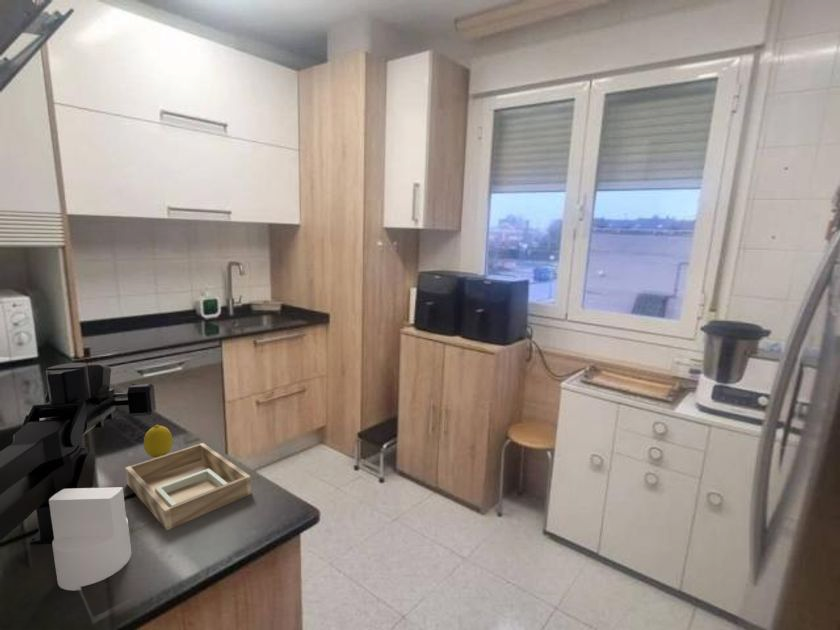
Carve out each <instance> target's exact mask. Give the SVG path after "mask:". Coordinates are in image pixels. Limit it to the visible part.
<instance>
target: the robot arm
mask: <svg viewBox="0 0 840 630" xmlns="http://www.w3.org/2000/svg"><path fill="white" fill-rule="evenodd" d="M111 373H112V368H111V367H110V366H108V365H102V364H88V363H86V362H69V363H61V364H55V365H53V366H50V367H47V368H46V370H45V374H46V375H45V376H46V382H47V389H48V391H47V392H46V393H45V395H44V398H43V400H44V404H34V405H32V407H31V409H30V411H29V413H28V414H26V415H25V417H24V421H23V422H22V423H23V424H22V426H21V428H20V429H18V430H17V431H16V432H15V433H14V434H13V436H12V442H11V444H10V445H8V446H6V447H5V448H3V449H2V450H0V542H1V541H3V540H4V539H5V538H6V537H7V536H8V535H9V534H11V533H12V532H13V531H14V530H15V529H16V528H17V527H18V526H19V525H21V524H22V523H23V522H24V521H26V519H27V518H29V517H30V516H31V515H32V514H33V513H34V512H35V513H36V520H37V521H36V522H37V525H38V531H37V532H36V533H35V534H34V535H33V536H32V537H31V538H30V539H29V540H28V541H29V544H30V545H32V544H41V543H42V544H43V543H49V542H50V543H51V542H53V540H54V534H53V527H52V520H51V513H50V506H49V499H50V498H51V497H52V496H53V495H55V494H56V493H58V492H59V491H61V490H63V489H72V488H94V478H95V465H96V460H95V456H94V454H93V453H91V452H90V451H89V448H88V447H84V446H82V444H83V443H82V440H83V436H84V435H85V434H87V433H88V432H89V431H90V430H93V429H94V428H95V429H96V428H103V427H104V426H105V422H104V420H113V419H114V418H115V410H116V408H117V407H118V406H128V413H129V415H130V416H131V417H143V416H151V415H152V414H153V413H154V412H155V411H156V410H157V406H156V405H157V404H156V396H155V387H154V385H153V384H152V383H135V384H134V383H133V384H131V385H130V386H129V387H128V389H127V392H120V393H119V392H117V393H115V388H110V385H111ZM41 419H46V420H41Z"/></svg>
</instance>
